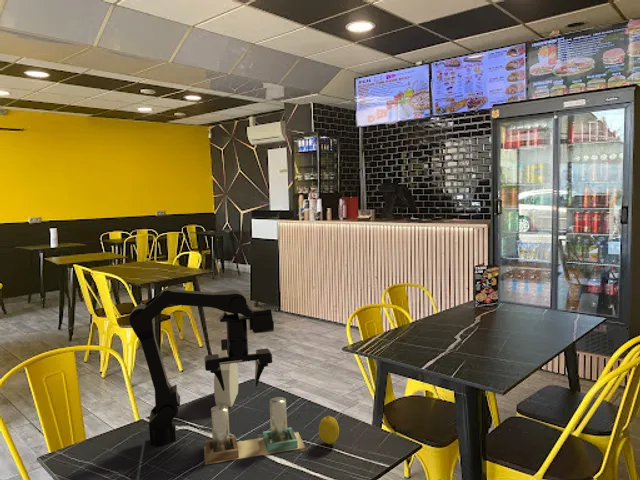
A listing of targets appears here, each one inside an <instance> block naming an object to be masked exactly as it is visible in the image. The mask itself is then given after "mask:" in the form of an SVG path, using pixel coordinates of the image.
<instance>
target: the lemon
mask: <svg viewBox="0 0 640 480" xmlns="http://www.w3.org/2000/svg"><path fill="white" fill-rule="evenodd" d="M339 434H340V427H339V424H338V421H337V419H336V418H334V417H333V416H330V415H327V416H325V417H322V419H321V420H320V422H319V425H318V435H319V438H320V440H321V441H323V442H324V443H325V444H327V445H331V444H333V443H335V442H337V440H338V439H339Z"/></svg>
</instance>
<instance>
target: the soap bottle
mask: <svg viewBox="0 0 640 480" xmlns="http://www.w3.org/2000/svg"><path fill="white" fill-rule="evenodd" d="M218 355H219V358H221V357H228V355H227V350H223V351H222V350H220V351H219V352H218ZM220 367H221V373H222V377H223V382H224V391H223V390H222V387H221V385H220V382H219V380H218V378H217V377H216V375H215V374H214V375H213V376H214V377H213V392H214V393H213V394H214V402H215V406H217V405H226V406H228V408H232V407H233V405H234V403H235V401H236V397H237V396H238V393H239V368H238V363H230V364H221V365H220Z"/></svg>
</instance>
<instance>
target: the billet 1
mask: <svg viewBox="0 0 640 480" xmlns="http://www.w3.org/2000/svg"><path fill="white" fill-rule="evenodd" d="M210 416H211V417H210V419H211V435H212V436H211V437H212V439H213V452H219V451H225V450H230V437H231V436H230V418H229V407H228V406H226V405H217V406H216V405H215V406H213V407H211V409H210Z"/></svg>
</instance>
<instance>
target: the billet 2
mask: <svg viewBox="0 0 640 480" xmlns="http://www.w3.org/2000/svg"><path fill="white" fill-rule="evenodd" d="M268 402H269V416H270V417H269V420H270V421H269V422H270V430H271V442H272V443H274V442H280V441H287V440H288V435H287V428H288V418H287V416H288V415H287V414H288V413H287V399H286V398H285V397H283V396H277V397H276V396H275V397H272V398H270V399H269V401H268Z"/></svg>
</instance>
